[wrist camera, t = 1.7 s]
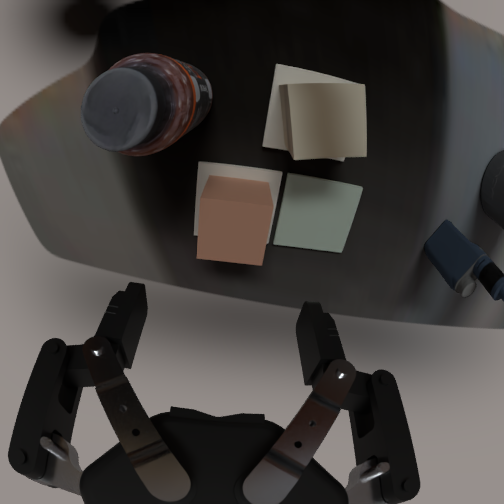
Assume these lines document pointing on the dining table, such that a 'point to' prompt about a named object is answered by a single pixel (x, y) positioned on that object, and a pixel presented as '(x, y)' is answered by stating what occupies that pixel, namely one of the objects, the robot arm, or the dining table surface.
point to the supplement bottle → (145, 104)
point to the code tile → (236, 172)
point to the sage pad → (316, 213)
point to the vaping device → (463, 262)
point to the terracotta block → (234, 220)
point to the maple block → (324, 120)
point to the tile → (274, 116)
